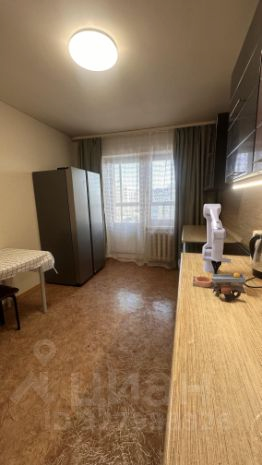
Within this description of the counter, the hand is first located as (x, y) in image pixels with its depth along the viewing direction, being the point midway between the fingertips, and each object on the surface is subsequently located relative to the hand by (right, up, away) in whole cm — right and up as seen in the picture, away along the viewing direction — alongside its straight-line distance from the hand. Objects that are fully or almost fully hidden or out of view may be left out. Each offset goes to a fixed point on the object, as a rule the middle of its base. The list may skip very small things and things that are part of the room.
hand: (215, 273), depth 114 cm
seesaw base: (-1, -6, -4) cm, 7 cm away
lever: (+5, -3, -5) cm, 7 cm away
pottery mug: (-3, -9, -18) cm, 20 cm away
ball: (+7, +1, -10) cm, 12 cm away
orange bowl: (-8, -5, -4) cm, 10 cm away
